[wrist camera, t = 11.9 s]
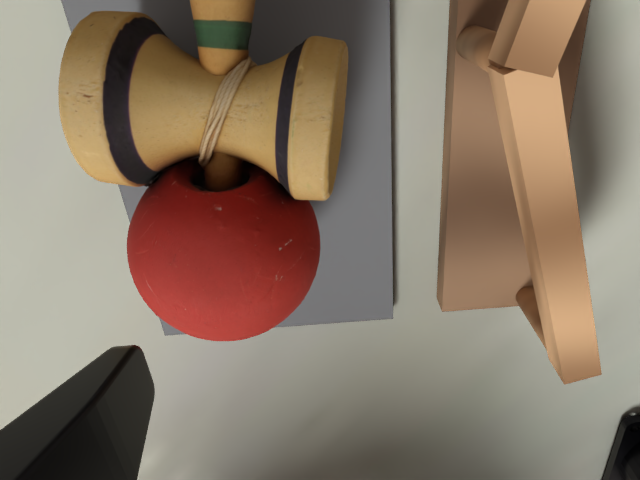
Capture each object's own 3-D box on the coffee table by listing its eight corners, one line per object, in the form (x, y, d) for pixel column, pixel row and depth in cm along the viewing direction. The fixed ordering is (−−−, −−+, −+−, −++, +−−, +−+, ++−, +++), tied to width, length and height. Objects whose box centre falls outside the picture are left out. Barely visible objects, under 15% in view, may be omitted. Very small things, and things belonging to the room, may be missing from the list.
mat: (391, 309, 21) (393, 318, 21) (168, 326, 22) (164, 335, 21) (381, -485, 11) (384, -509, 10) (-60, -431, 11) (-79, -452, 10)
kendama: (48, -357, 12) (119, 291, 18) (-105, -735, 6) (77, 402, 13) (349, -293, 14) (317, 282, 20) (450, -545, 8) (360, 376, 14)
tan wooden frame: (531, 290, 21) (597, 387, 16) (434, 297, 21) (471, 396, 16) (655, -482, 11) (942, -862, 6) (465, -460, 11) (592, -815, 6)
